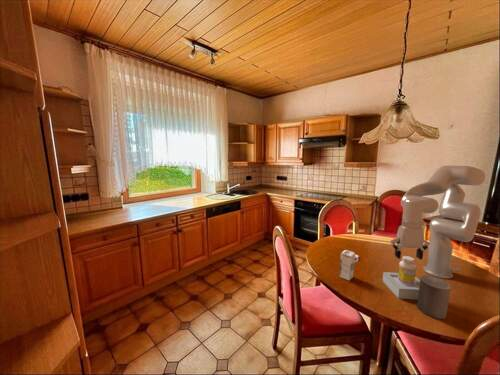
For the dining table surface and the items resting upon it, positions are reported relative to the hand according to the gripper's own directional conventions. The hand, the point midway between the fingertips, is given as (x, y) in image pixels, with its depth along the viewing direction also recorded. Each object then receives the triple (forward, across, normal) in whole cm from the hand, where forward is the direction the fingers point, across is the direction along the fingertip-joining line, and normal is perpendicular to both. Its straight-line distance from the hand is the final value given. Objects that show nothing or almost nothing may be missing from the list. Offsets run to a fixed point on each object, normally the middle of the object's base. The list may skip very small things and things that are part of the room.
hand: (408, 257), depth 100 cm
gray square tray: (+17, 0, 0) cm, 17 cm away
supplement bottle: (+13, 0, 0) cm, 13 cm away
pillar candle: (+17, -2, +14) cm, 22 cm away
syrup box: (+17, +25, -9) cm, 32 cm away
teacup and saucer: (+18, +12, -29) cm, 36 cm away
